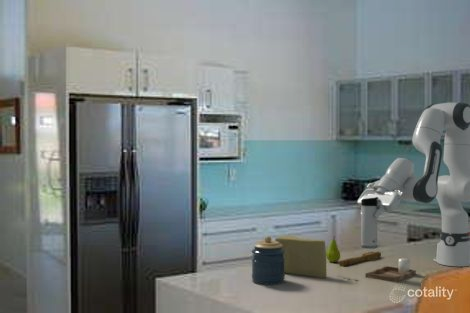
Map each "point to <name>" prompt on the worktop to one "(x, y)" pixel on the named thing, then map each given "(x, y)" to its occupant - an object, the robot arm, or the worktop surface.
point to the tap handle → (360, 258)
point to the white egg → (403, 266)
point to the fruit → (333, 252)
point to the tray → (389, 274)
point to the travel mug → (368, 223)
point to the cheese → (303, 256)
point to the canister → (268, 262)
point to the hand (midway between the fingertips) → (368, 216)
